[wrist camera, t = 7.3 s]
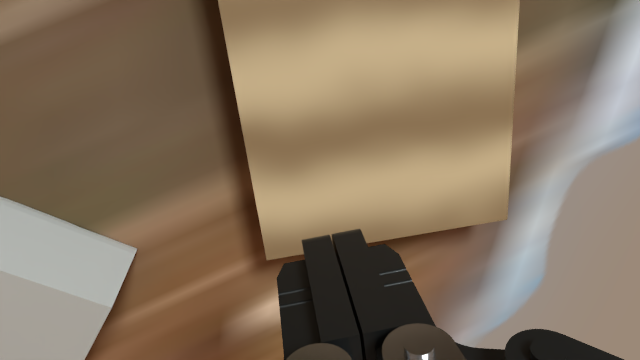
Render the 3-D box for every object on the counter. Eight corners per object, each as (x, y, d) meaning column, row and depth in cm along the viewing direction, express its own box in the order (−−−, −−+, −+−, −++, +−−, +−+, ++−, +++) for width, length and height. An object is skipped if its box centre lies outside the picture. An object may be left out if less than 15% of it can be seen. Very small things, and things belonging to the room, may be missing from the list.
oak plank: (220, -11, 24) (216, -9, 21) (492, -45, 25) (522, -47, 22) (264, 233, 29) (266, 260, 27) (484, 197, 30) (507, 219, 28)
